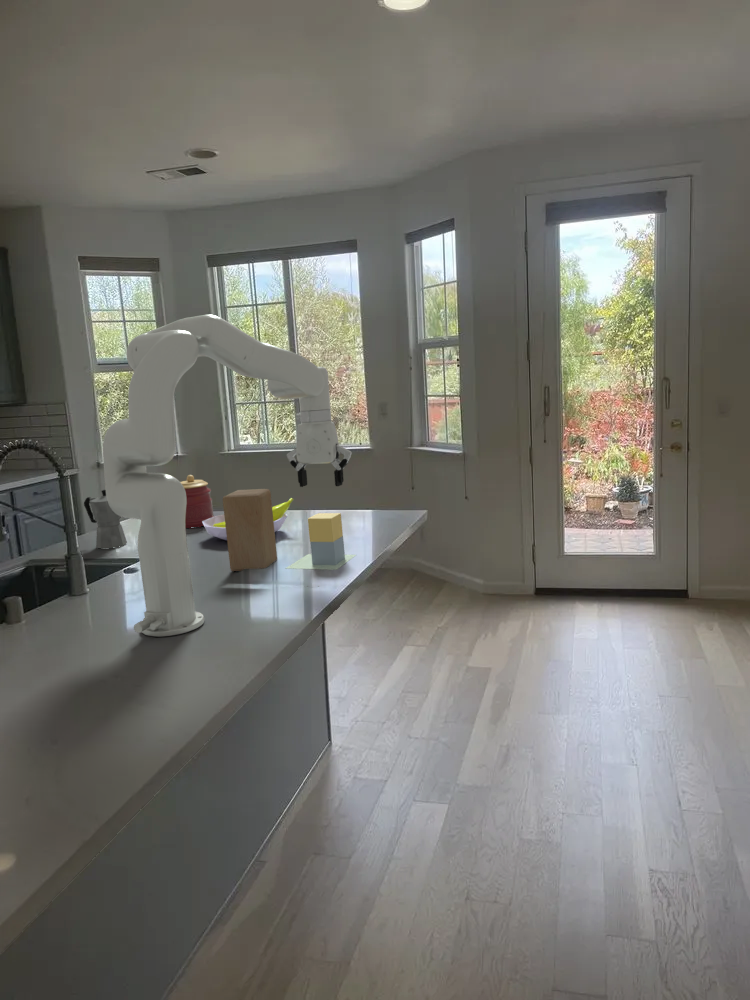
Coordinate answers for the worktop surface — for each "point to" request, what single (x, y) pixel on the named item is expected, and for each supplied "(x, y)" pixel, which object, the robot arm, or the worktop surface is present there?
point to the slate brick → (327, 552)
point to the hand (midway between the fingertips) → (321, 485)
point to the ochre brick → (325, 527)
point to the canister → (197, 502)
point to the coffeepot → (105, 522)
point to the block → (250, 529)
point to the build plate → (307, 564)
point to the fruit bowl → (218, 528)
